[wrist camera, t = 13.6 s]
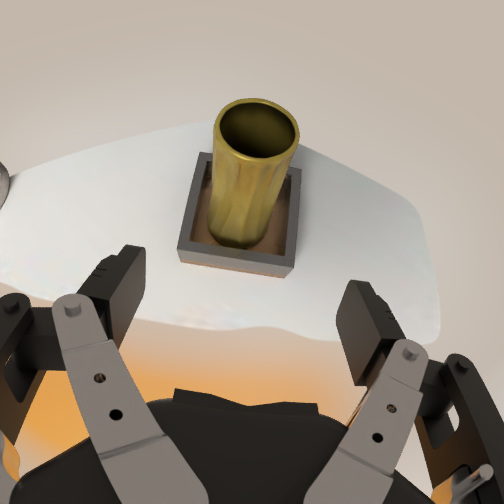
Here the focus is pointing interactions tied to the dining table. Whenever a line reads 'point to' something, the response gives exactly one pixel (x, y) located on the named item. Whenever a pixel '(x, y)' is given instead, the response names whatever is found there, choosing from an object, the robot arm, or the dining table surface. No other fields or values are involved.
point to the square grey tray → (246, 259)
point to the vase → (248, 168)
